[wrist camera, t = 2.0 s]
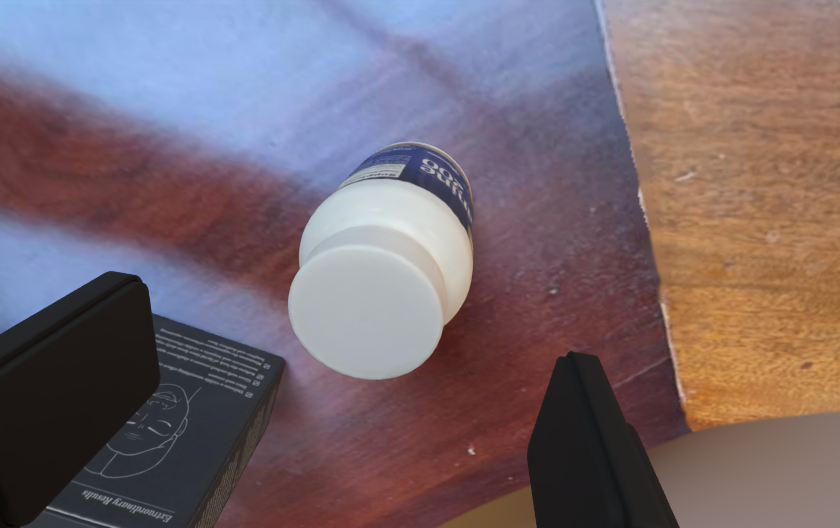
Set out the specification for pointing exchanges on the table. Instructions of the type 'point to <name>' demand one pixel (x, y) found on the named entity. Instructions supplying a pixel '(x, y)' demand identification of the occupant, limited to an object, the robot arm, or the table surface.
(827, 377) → the table surface
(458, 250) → the pill bottle
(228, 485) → the box
